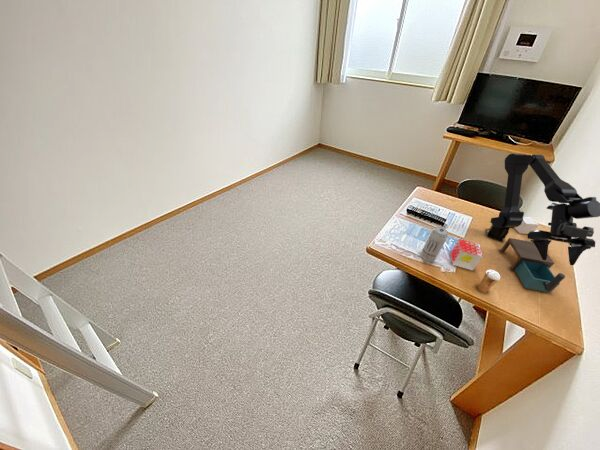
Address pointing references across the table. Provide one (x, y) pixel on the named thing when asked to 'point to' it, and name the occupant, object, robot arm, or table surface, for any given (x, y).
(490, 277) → the milkshake
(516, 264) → the brown drawer cabinet
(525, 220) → the white cube
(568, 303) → the table surface
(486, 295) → the table surface
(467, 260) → the red patterned cube box
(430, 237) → the energy drink can
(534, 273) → the drawer
